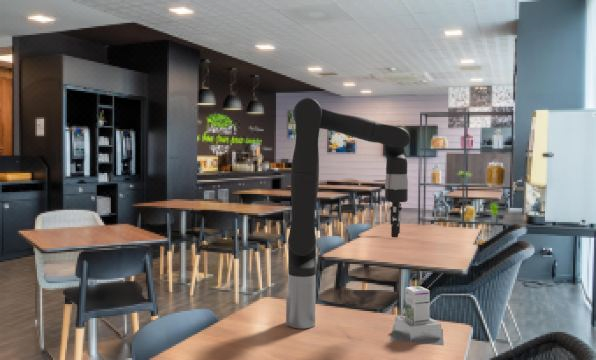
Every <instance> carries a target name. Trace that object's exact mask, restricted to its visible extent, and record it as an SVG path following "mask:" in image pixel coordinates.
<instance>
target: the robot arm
mask: <svg viewBox="0 0 596 360" xmlns="http://www.w3.org/2000/svg"><path fill="white" fill-rule="evenodd" d="M292 117H293V120H294V122H295V145H294V150H293V154H292V161H291V169H290V199H291V201H290V203H291V221H290V229H289V234H288V239H287V244H288V262H287V263H288V264H287V265H288V266H287V272H288V273H287V280H288V281H287V296H286V299H285V303H286V305H285V306H286V307H285V327H291V328H293V329H303V330H304V329H310V328H313V327H315V326H316V282H317V281H316V279H317V277H316V276H317V275H316V274H317V273H316V272H317V235H316V232H315V213H316V212H315V211H316V205H317V199H318V192H319V183H320V182H319V181H320V180H319V179H320V166H319V165H320V155H319V153H320V152H319V138H320V137H319V136H320V129H322V130H327V131H330V132H331V131H333V132H336V133H339V134H342V135H345V136H348V137H352V138H355V139H359V140H361V141H366V142H369V143H377V144H378V143H379V144H381V145H384V152H385V158H386V160H385V161H386V163H385V164H386V166H385V167H386V168H385V179H384V181H385V182H384V184H385V185H384V200H385V202H387V203H388V202H389V203H391V206H390V207H389V220H390V226H391V229H390V230H391V232H390V233H391V236H390V237H392V238H396V239H397V238H399V235H400V234H401V229H400V228H401V226H400V225H401V221H402V220H401V219H402V215H403V214H402V213H403V207H402V203H406V202H408V196H409V195H408V194H409V193H408V191H409V190H408V189H409V184H408V183H409V179H408V158H407V157H406V156H405V154H406V153H405V148H406V147H407V146H408V145H409V144H410V142H411V135H410V132H409V131H408V130H407V129H406V128H403V127H400V126H398V125H397V126H396V125H390V124H386V123H381V122H378V121H375V120H371V119H367V118H364V117H360V116H355V115H351V114H343V113H338V112H335V111H331V110H329V109H326V108H324V107H322V106H321V105H320V103H319V102H318V101H317V100H316V99H314V98H311V97H305V98H302V99H301V100H298V102H297V103H296V104H295V105H294V108H293V109H292Z"/></svg>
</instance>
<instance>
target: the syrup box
mask: <svg viewBox="0 0 596 360" xmlns="http://www.w3.org/2000/svg"><path fill="white" fill-rule="evenodd" d="M404 290H405V291H404V292H405V294H404V295H405V304H404V305H405V306H404V316H405V321H407V322H408V323H410V324H411V325H419V324H429V319H430V318H431V316H430V313H431V312H430V306H431V305H430V303H431V302H430V300H431V299H430V297H431V296H430V292H431V291H430V290H429V289H427V288H425V287H423V286H420V285H419V286H418V285H413V286H409V287H408V286H407V287H405V289H404Z"/></svg>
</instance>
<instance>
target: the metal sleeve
mask: <svg viewBox="0 0 596 360" xmlns="http://www.w3.org/2000/svg"><path fill="white" fill-rule="evenodd" d="M394 325H395V331H396V332H398V333H399V334H400V335H402V336H403V337H405V338H406V339H407V340H409V341H420V340H430V339H441V329H442V323H441V322H439V321H437V320H435V319H433V318H431V317H430V319H429V324H419V325H411V324H410V323H408V322H407V321H405V315H398V316H397V315H396V316H394Z"/></svg>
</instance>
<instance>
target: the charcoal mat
mask: <svg viewBox="0 0 596 360" xmlns="http://www.w3.org/2000/svg"><path fill="white" fill-rule="evenodd" d="M389 341H392V342H400V343H401V342H403V343H413V344H414V343H415V344H422V345H423V344H425V345H432V346H433V345H434V346H435V345H436V346H444V345H445V344H444V343H445V342H444V329H443V328H441V339H430V340H420V341H409V340H407V339H406V338H405V337H403V336H402V335H400V334H399V333H398V332H396V331H395V324H393V326H392V330H391V335H390V340H389Z"/></svg>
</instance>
